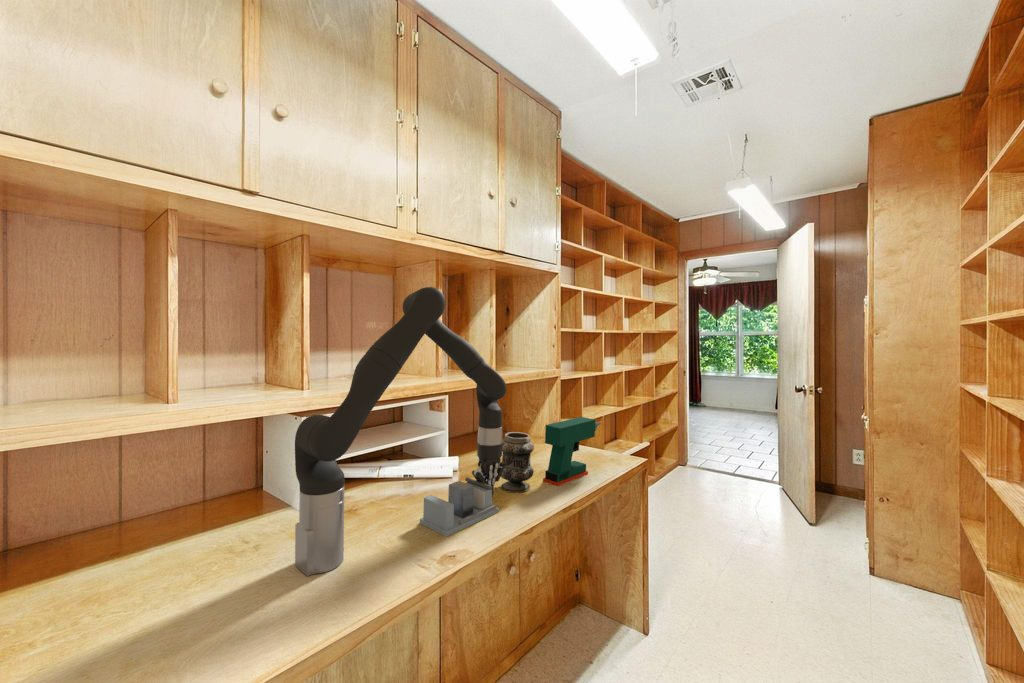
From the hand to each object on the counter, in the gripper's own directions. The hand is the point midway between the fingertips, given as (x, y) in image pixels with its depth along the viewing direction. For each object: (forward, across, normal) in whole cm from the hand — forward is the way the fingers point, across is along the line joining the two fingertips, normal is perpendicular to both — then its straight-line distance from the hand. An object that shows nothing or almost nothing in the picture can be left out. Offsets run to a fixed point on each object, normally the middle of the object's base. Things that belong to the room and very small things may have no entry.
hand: (488, 497), depth 129 cm
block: (+1, +12, 0) cm, 12 cm away
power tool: (+3, -43, +4) cm, 44 cm away
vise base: (+2, +12, 0) cm, 12 cm away
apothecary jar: (+3, -16, -3) cm, 17 cm away
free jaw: (+1, +5, 0) cm, 5 cm away
